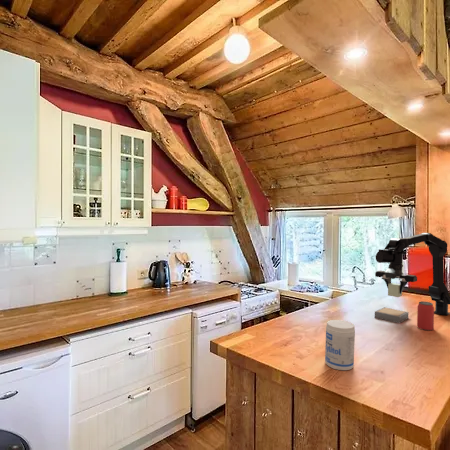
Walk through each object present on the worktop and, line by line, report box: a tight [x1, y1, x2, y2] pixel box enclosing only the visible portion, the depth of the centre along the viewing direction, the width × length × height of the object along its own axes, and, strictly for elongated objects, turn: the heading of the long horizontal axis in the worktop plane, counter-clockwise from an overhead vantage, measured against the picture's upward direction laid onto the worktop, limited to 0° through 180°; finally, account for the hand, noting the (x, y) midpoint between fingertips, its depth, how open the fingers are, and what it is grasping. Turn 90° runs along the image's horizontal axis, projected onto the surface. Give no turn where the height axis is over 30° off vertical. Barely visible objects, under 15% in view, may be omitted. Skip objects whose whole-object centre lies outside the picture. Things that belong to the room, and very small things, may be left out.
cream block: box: [387, 282, 403, 298], centre depth 169 cm, size 5×5×6 cm
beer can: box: [416, 301, 435, 331], centre depth 152 cm, size 7×7×12 cm
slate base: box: [374, 307, 409, 324], centre depth 168 cm, size 12×12×3 cm
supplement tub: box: [324, 319, 356, 371], centre depth 114 cm, size 10×10×15 cm
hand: (394, 292), depth 169 cm, fingers closed on cream block, 5 cm apart
